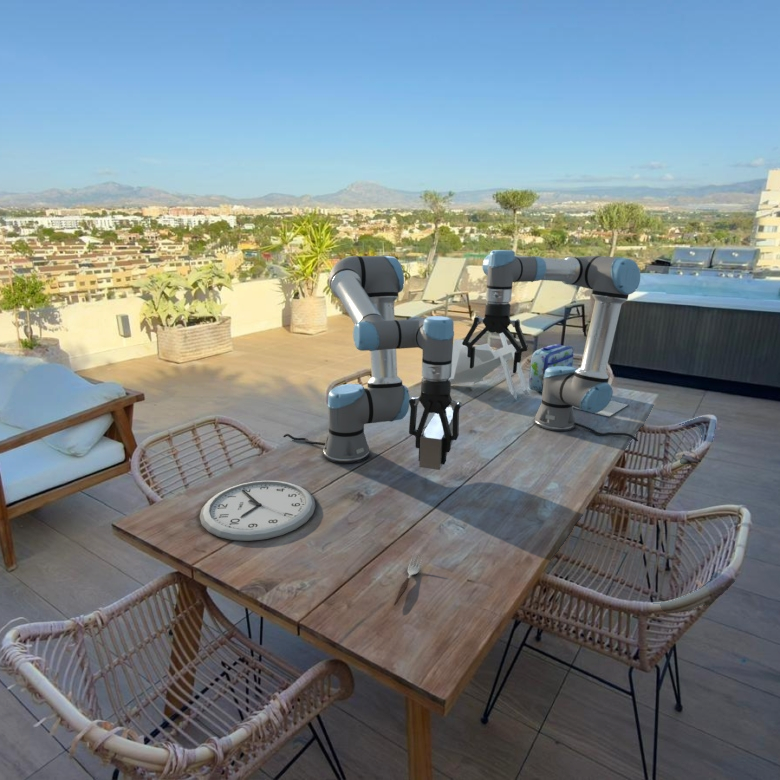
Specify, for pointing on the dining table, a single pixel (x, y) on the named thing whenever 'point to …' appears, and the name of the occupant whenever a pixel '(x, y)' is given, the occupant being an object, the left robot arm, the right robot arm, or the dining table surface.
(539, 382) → the lunch box
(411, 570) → the fork
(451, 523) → the dining table surface
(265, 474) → the dining table surface
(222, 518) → the wall clock
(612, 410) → the invitation card
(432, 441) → the bar
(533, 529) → the dining table surface
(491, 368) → the white plastic object
